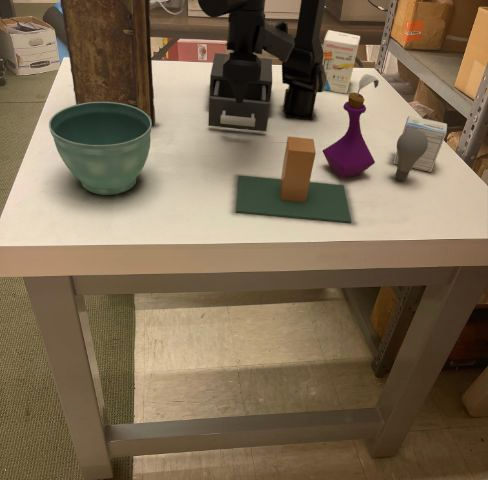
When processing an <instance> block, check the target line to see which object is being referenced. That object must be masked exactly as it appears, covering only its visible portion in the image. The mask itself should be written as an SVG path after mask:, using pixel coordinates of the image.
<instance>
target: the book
mask: <svg viewBox="0 0 488 480" xmlns="http://www.w3.org/2000/svg"><path fill="white" fill-rule="evenodd" d="M59 1H60V8H61V12H62V19H63V24H64V27H63V29H64V32H65V37H66V44H67V45H66V46H67V52H68V57H69V63H70V64H69V65H70V73H71V75H72V76H71V78H72V85H73V92H74V99H75V105H78V104H83V103H89V102H114V103H122V104H126V105H130V106H133V107H136V108H138V109H140V110H142V111H143V112H145V113H146V114H147V115H148V116H149V117H150V119H151V121H152V126H155V125H156V109H155V101H154V99H155V93H154V84H153V83H154V81H153V59H152V42H151V41H152V40H151V39H152V38H151V33H152V32H151V31H152V30H151V29H152V27H151V18H150V17H151V15H150V14H151V0H59Z"/></svg>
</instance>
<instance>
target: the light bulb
mask: <svg viewBox="0 0 488 480" xmlns="http://www.w3.org/2000/svg"><path fill="white" fill-rule="evenodd" d="M427 146H428V140H427V137H426V135H425V134H424V133H423V132H422V131H420V130H418V129H410V130H407V131H405V132H404V133H403V132H402V133H401V135H399V137H398V139H397V142H396V152H397V153H398V164H396V171H395V175H394V176H395V178H396V179H397V180H398V181H403V180H404V181H405V180H407V178H408V176H409V174H410V171H412V169H413V168H412V167H413V165H414V163H415V162H416V161H417V160H418V159H419V158H420V157H421V156H422V155H423V154H424V153H425V151H426V149H427Z"/></svg>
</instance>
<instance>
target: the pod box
mask: <svg viewBox="0 0 488 480" xmlns="http://www.w3.org/2000/svg"><path fill="white" fill-rule="evenodd" d="M316 154H317V152H316V146H315V139H314V138H307V137H297V136H287V138H286V145H285V151H284V158H283V163H282V170H281V176H280V179H281V182H280V198H281V200H283V201H294V202H304V203H305V202H306V198H307V193H308V188H309V183H310V182H311V178H312V173H313V167H314V163H315V158H316Z"/></svg>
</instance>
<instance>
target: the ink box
mask: <svg viewBox="0 0 488 480" xmlns="http://www.w3.org/2000/svg"><path fill="white" fill-rule="evenodd" d="M360 41H361V35H356V34H353V33H352V34H351V33H348V32H347V33H346V32H341V31H336V30H330V29H328V30H327V31H326V33H325V36H324V39H323V45H322V49H323V52H324V55H323V63H322V65H323V67H324V71H325V74H326V77H327V80H326V84H325V86H324V89H323V91H328V92H335V93H341V94H348V90H349V86H350V83H351V79H352V75H353V70H354V66H355V61H356V57H357V53H358V49H359V44H360Z"/></svg>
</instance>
